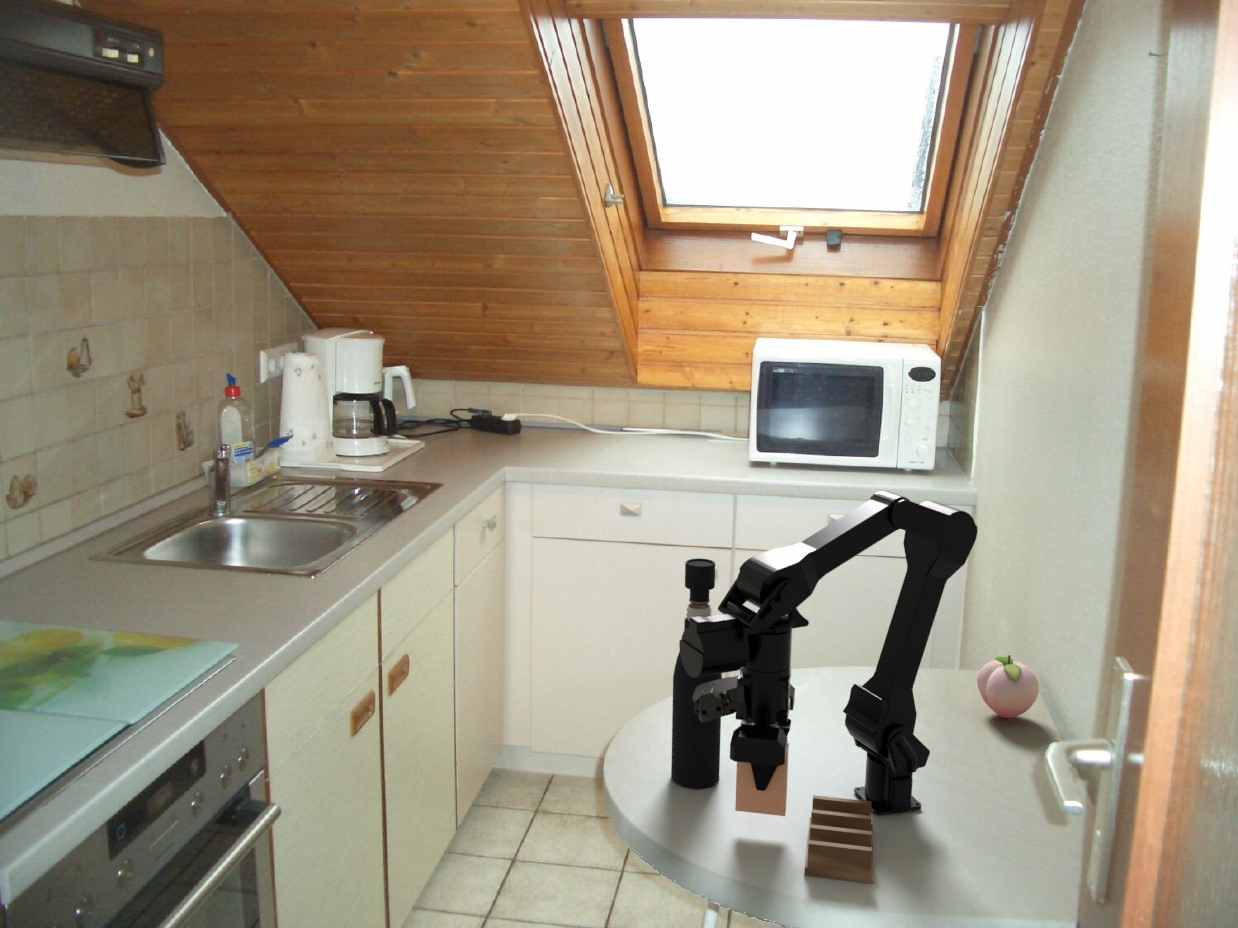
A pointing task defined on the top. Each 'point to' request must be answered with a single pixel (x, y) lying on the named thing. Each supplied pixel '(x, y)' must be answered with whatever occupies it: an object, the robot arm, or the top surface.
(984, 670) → the decorative fruit
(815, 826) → the rack
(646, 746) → the top surface
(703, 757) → the wine bottle
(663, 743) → the top surface
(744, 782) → the block
